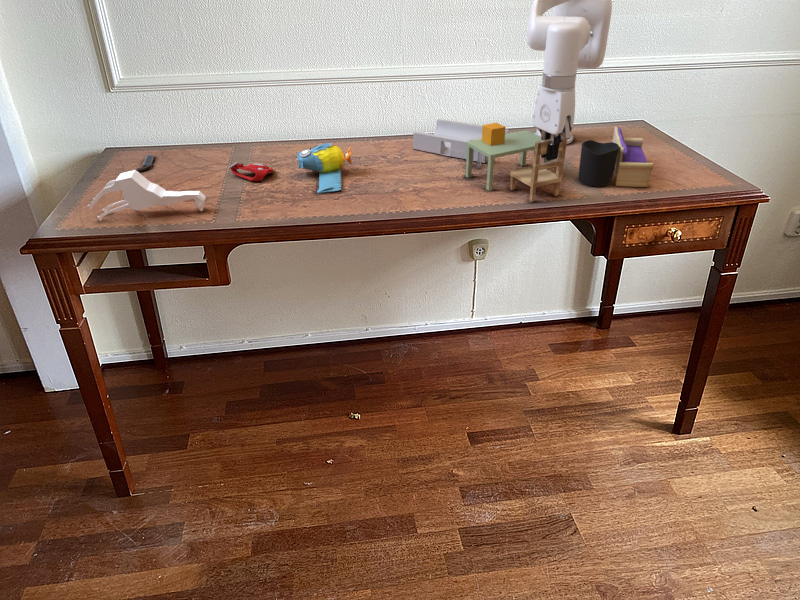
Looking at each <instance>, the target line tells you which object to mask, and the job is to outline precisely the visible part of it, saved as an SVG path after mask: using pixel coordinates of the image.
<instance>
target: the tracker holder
mask: <svg viewBox="0 0 800 600" xmlns="http://www.w3.org/2000/svg"><path fill="white" fill-rule="evenodd" d="M228 169H230V171H231V173H232V174H234V175H235V176H237V177H239V178H242V179H245V180H248V181H251V182H252V181H253V182H261V181H262V180H263V179H264V178H265V177H266V176H267V175H268V174H273V173H274V168H271V167H269V166H268V165H266V164H262V163H250V164H248V165H245V163H244V162H239V161H236V162H234V163H232V164H231V165H230V166H228ZM238 170H241V171H242V170H243V171H247V172H251V173H254V174H255V175H254V176H253V177H252V176H249V175H246V174H243V173H241V172H240V171H238Z"/></svg>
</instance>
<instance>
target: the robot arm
mask: <svg viewBox="0 0 800 600" xmlns="http://www.w3.org/2000/svg"><path fill="white" fill-rule="evenodd" d="M550 9H553V10H552V15H544V14H545V13H546V12H547V11H549V10H550ZM612 11H613V2H612V0H533V2H532V4H531V7H530V10H529V18H528V24H527V30H526V42H527V45H528V47H529V48H530V49H531V50H533V51H536V52H537V51H539V52H540V51H541V52H543V56H544V57H543V69H542V76H541V83H540V85H539V86H538V90H537V93H536V96H535V101H534V107H533V114H532V126H533V127H534V128H536V131H535V132H533V133H534V134H536V135H538V136H541V140H547V139H550V144H548V146H547V154H544V155H540V158H542V159H544V158H546V160H548V161H549V160H550V161H555V160H558V154H559V144H561V143H562V141H563V140H567V144H566V145H568V144H570V143H572V142H573V140H574V135H573V134H572V133H571V132H572V131H573V127H574V121H575V113H576V81H577V73H578V69H588V70H589V69H597V68H599V67H601V66H602V64H603V62H604V60H605V56H606V51H607V45H608V39H609V32H610V25H611V20H612Z"/></svg>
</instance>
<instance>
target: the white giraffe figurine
mask: <svg viewBox="0 0 800 600" xmlns="http://www.w3.org/2000/svg"><path fill="white" fill-rule="evenodd" d="M121 191H122V195H121V198H122V199H123V200H119V201H116V202H114V203H111V204H109V205H106V207H105V208H102V209H101V211H103V213H101V214H100V215H97V216H96V218H97V219H98V220H99V221H100V222H102V220H103V218H104V217H105V216H107V215H110V214H112V213H116V212H121V211H123V210H125V209H128V210H129V209H130V210H132V211H133V210H134V211H137V212H138V211H139V212H140V211H143V210H146V209H150V208H152V207H155V206H158V207H159V206H160V207H163V206H172V205H176V204H178V203H181V202H185V201H190V200H194V205H195V207H196V208H197V209H198V210H199V211H200V212H203V211H204V208H205V201H206V198H207V196H206V195H205V194H203V192H202V191H200V190H182V191H181V190H180V191H178V190H175V191H174V190H166V188H164V187H161V185H159V184H157V183H154V182H151V181H150V180H149V179H148V178H146V177H145V176H144V175H143V174H142V173H140V172H138V171H137V170H136V169H133V170H129V171H124V172H121V173H119V175H118V176H117V177H116V179H113V180H112V179H111V180H109V181H108V182H107V184H106V185H105V186H104V187H103V188H102V189H101V190H100V191H99V192H98V193H97V194H96V195H95V196H94V197H92V200H91V202H90V203H89V204H87V207H88V208H89V209H90V210H91V211H92V210H93V208H94V206H95V204H97V203H98V201H99V200H100V199H101V198H102V197H103V196H104V195H105V194H107V193H114V192H121ZM120 205H121V206H120ZM117 206H118V207H117ZM113 207H115V208H113ZM111 208H112V209H111Z"/></svg>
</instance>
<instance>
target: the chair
mask: <svg viewBox="0 0 800 600" xmlns="http://www.w3.org/2000/svg"><path fill="white" fill-rule="evenodd" d="M548 144H550V139H547V140H542V141H537V142H535V147H534V150H533V156H532V165H529V166H526V167H525V166H524V167H521V168H516V169H512V170H511V169H510V170H509V176H510V180H509V190H510V191H514V190H515V189H516V180H518V181H520V182H521V183H523V184H525V185H526V186H529V187H530V191H529V198H528V199H529V200H528V201H529V202H530V203H534V202H535V200H536V191H537V188H539V187H544V186H548V185H552V184H554V185H553V191H552V192H553V193H552V194H553V196H554V197H558V196H559V194H560V188H561V187H560V186H561V183H562V180H563V173H564V165H565V158H566V151H567V145H568V144H567V140H563V141H562V143H561V144H559V152H558V158H557V159H554V160H550V162H546V163H544V162H541V155H544V154H547V146H548ZM540 162H541V163H540ZM555 167H556V170H555V172H553V171H551V170H550V169H551V168H555ZM547 168H549V170H547Z"/></svg>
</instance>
